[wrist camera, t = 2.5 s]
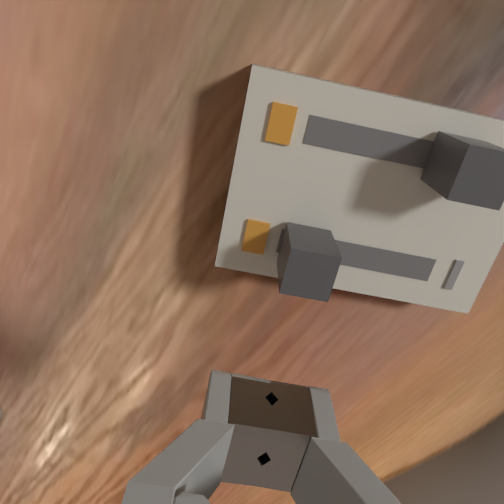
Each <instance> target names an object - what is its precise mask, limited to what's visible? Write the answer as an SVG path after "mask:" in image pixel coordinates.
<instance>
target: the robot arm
mask: <svg viewBox="0 0 504 504" xmlns="http://www.w3.org/2000/svg"><path fill="white" fill-rule="evenodd" d="M0 419H1V410H0ZM220 482H227V483H235V484H244V485H252V486H259V487H264V488H270V489H275V490H281V491H286V492H291V496H292V497H293V499H294V501H295V503H296V504H401V503H400V502H399V500H398V499H397V498H396V497H395V496H394V495H393V494H392V492H390V490H389V489H388V488H387V487H386V486H385V485H384V484H383V482H382V481H381V480H380V479H379V478H378V477H377V476H376V475H375V474H374V472H373V471H372V470H371V469H370V468H369V467H368V466H367V465H366V464H365V463H364V461H363V460H362V459H361V458H360V457H359V456H358V455H357V454H356V453H355V451H354V450H353V449H352V448H351V447H350V446H349V445H348V444H347V443H346V442H341V441H340V436H339V432H338V427H337V423H336V418H335V413H334V409H333V404H332V400H331V395H330V392H329V390H328V389H324V388H317V387H310V386H308V387H307V386H301V385H295V384H289V383H283V382H277V381H270V380H265V379H260V378H255V377H250V376H245V375H240V374H234V373H232V374H231V373H227V372H222V371H217V370H211V373H210V377H209V382H208V387H207V391H206V396H205V401H204V406H203V411H202V416H201V419H197V420H196V421H195V422H194V423H193V424H191V425H190V426H189V427H188V428H187V429H186V430H185V431H184V432H183V433H181V434H180V435H179V436H178V437H177V438H176V439H175V440H174V441H173V442H172V443H170V444H169V445H168V446H167V447H166V448H165V449H164V450H163V451H162V452H161V453H159V454H158V455H157V456H156V457H155V458H154V459H153V460H152V461H151V462H150V463H148V464H147V465H146V466H145V467H144V468H143V469H142V470H141V471H140V472H139V473H137V474H136V475H135V476H134V477H133V478H132V479H131V480H130V481H129V482H128V484H127V487H126V491H125V494H124V497H123V500H122V503H121V504H209V503H210V502H209V501H208V499H209V498H210V496H211V495H212V494H213V492H214V491H215V490H216V488H217V487H218V486H219V484H220Z"/></svg>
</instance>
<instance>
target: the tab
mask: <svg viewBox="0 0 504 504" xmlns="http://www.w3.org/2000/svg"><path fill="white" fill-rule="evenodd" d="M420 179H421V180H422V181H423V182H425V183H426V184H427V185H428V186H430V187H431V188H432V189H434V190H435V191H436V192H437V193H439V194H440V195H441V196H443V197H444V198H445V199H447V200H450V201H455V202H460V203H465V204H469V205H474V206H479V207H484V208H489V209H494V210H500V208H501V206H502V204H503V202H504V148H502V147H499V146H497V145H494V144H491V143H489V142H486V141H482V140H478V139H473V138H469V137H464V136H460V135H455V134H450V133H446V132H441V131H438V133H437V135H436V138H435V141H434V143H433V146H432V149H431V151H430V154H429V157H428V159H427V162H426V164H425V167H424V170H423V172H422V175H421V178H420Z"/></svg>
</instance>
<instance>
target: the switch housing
mask: <svg viewBox="0 0 504 504" xmlns="http://www.w3.org/2000/svg"><path fill="white" fill-rule="evenodd" d="M438 131H441V132H446V133H450V134H455V135H460V136H464V137H469V138H473V139H478V140H482V141H486V142H489V143H491V144H494V145H497V146H499V147H502V148H504V119H500V118H495V117H491V116H486V115H482V114H477V113H473V112H468V111H464V110H459V109H455V108H450V107H446V106H441V105H437V104H432V103H428V102H423V101H419V100H414V99H410V98H405V97H401V96H396V95H392V94H388V93H383V92H379V91H374V90H370V89H365V88H361V87H356V86H352V85H347V84H343V83H338V82H334V81H329V80H325V79H320V78H316V77H311V76H307V75H302V74H298V73H293V72H289V71H284V70H280V69H275V68H271V67H266V66H262V65H257V64H252V68H251V74H250V79H249V85H248V90H247V95H246V101H245V106H244V111H243V117H242V122H241V127H240V133H239V138H238V143H237V149H236V154H235V159H234V165H233V170H232V176H231V181H230V186H229V192H228V197H227V202H226V208H225V213H224V218H223V224H222V229H221V234H220V240H219V245H218V251H217V256H216V261H215V266H216V267H221V268H227V269H232V270H237V271H243V272H248V273H253V274H259V275H264V276H270V277H275V278H278V272H277V258H278V254H279V250H280V247H281V243H282V239H283V235H284V231H285V227H286V223H287V222H290V223H295V224H300V225H305V226H311V227H316V228H321V229H326V230H331V232H332V235H333V237H334V239H335V242H336V244H337V247H338V249H339V252H340V254H341V256H342V260H341V263H340V266H339V269H338V272H337V276H336V279H335V282H334V285H333V288H334V289H339V290H345V291H350V292H355V293H361V294H366V295H371V296H377V297H382V298H387V299H393V300H398V301H403V302H409V303H414V304H420V305H425V306H430V307H436V308H441V309H446V310H452V311H457V312H462V313H469V311H470V309H471V307H472V305H473V303H474V301H475V299H476V297H477V295H478V293H479V291H480V289H481V287H482V285H483V283H484V281H485V279H486V277H487V275H488V273H489V271H490V269H491V267H492V265H493V263H494V261H495V259H496V257H497V255H498V253H499V250H500V248H501V246H502V244H503V242H504V202H503V204H502V206H501V208H500V210H494V209H489V208H484V207H479V206H474V205H469V204H465V203H460V202H455V201H450V200H447V199H445V198H444V197H443V196H441V195H440V194H439V193H437V192H436V191H435V190H434V189H432V188H431V187H430V186H428V185H427V184H426V183H425V182H423V181H422V180H421V179H420V178H421V175H422V172H423V170H424V167H425V164H426V162H427V159H428V157H429V154H430V151H431V149H432V146H433V143H434V141H435V138H436V135H437V133H438Z"/></svg>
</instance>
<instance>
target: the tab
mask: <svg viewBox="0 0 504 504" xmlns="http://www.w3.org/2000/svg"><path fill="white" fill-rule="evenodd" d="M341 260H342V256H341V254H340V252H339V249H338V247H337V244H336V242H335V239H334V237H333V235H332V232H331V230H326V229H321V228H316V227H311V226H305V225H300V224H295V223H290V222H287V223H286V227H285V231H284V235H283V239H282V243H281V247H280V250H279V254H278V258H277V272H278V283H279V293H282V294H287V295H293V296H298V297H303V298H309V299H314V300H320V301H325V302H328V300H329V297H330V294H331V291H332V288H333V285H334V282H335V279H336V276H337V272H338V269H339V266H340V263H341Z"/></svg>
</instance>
